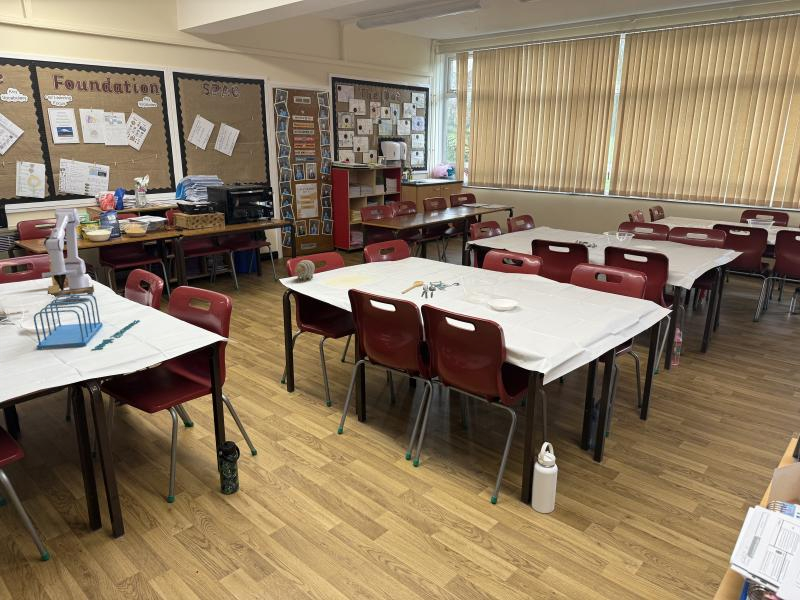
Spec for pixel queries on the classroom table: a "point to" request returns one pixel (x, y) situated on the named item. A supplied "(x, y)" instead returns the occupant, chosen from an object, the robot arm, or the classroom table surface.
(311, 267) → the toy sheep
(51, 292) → the brass weight
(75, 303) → the pivot stand
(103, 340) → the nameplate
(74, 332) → the file sorter
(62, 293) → the beam
